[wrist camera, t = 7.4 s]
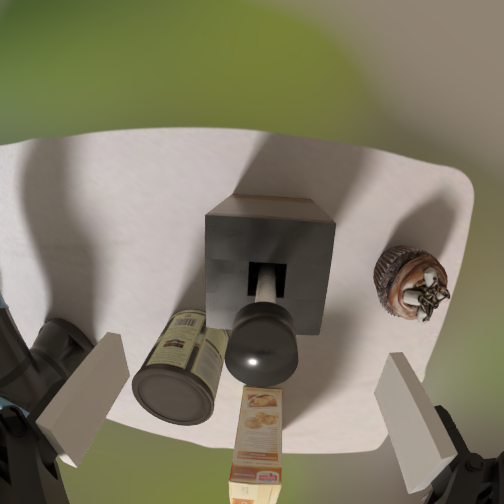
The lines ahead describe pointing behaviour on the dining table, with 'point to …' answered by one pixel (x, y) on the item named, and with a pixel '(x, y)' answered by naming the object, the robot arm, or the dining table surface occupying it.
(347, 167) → the dining table surface
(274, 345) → the plunger
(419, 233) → the dining table surface
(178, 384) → the coffee can
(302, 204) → the grey brown upright block
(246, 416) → the coffeecake box
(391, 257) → the cupcake
